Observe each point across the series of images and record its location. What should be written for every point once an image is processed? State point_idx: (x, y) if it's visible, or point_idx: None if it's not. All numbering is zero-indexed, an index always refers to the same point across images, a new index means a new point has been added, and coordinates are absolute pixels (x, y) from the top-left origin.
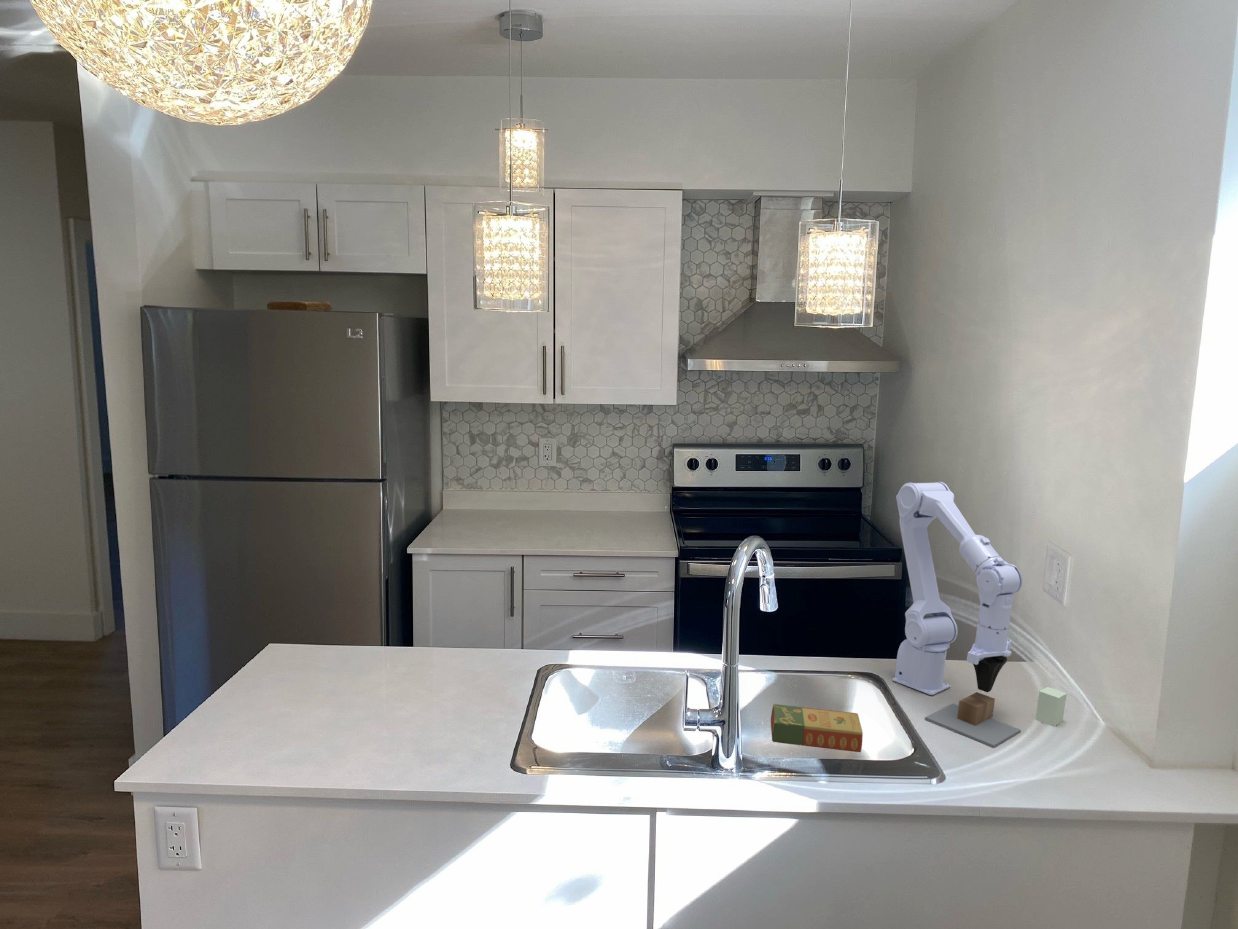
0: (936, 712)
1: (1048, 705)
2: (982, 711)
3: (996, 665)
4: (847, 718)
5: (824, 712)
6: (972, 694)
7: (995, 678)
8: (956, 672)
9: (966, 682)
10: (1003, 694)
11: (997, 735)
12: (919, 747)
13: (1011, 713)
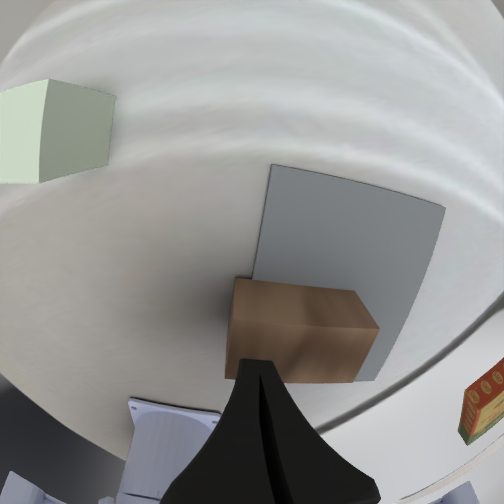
0: None
1: (73, 125)
2: (332, 311)
3: (374, 490)
4: (496, 403)
5: (482, 422)
6: None
7: (238, 404)
8: (53, 390)
9: (69, 373)
10: (39, 297)
11: (382, 217)
12: (486, 319)
13: (128, 241)
